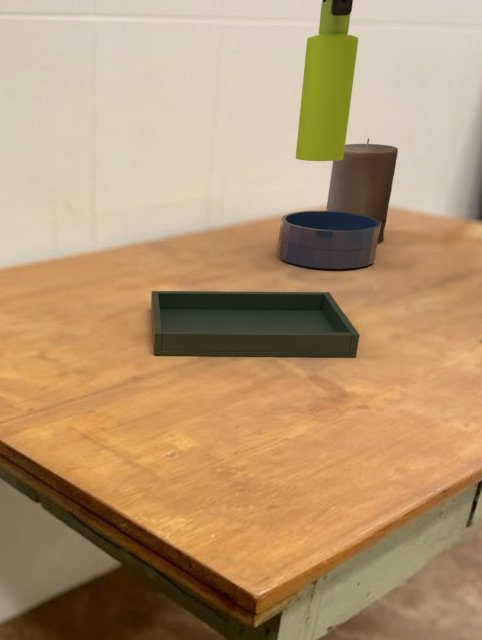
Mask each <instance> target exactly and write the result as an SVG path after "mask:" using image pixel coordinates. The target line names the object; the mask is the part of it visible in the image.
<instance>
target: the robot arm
mask: <svg viewBox="0 0 482 640" xmlns="http://www.w3.org/2000/svg"><path fill="white" fill-rule="evenodd" d="M323 2H326V0H322V2H321V4H322V3H323ZM353 3H354V0H332V3H331V14H332V15H334V16H346V15H349V14H350V15H351V14H352V12H353V11H352V10H353Z"/></svg>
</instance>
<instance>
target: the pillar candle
mask: <svg viewBox="0 0 482 640" xmlns="http://www.w3.org/2000/svg"><path fill="white" fill-rule="evenodd" d="M369 142H370V138H367V141H366V143H349V144H348V143H347V144H345V150H344V158H343V159H342V160H337V161H332V165H331V173H330V180H329V188H328V195H327V202H326V210H325V211H340V212H349V213H357V214H361V215H366V216H370V217H373V218H375V219H377V220H379V221H380V222H381V227H380V233H379V238H378V244H380V243H382V242H383V241H384V237H385V236H384V234H385V228H386V224H387V217H388V211H389V206H390V200H391V195H392V187H393V182H394V177H395V172H396V166H397V159H398V153H399V148H398V147H396V146H393V145H388V144H377V143H369Z"/></svg>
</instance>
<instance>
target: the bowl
mask: <svg viewBox="0 0 482 640" xmlns="http://www.w3.org/2000/svg"><path fill="white" fill-rule="evenodd" d="M380 227H381V222H380V221H379V220H377V219H375V218H373V217H370V216H366V215H361V214H357V213H349V212H340V211H326V210H303V211H295V212H290V213H287V214H284V215H282V217H281V218H280V224H279V235H278V243H277V250H276V251H277V252H276V255H277V256H278V258H279V259H280V260H282V261H284V262H287V263H290V264H293V265H296V266H301V267H304V268H311V269H318V270H319V269H320V270H348V269H349V270H350V269H359V268H362V267H368V266H369V265H372V264H374V263H375V260H376V256H377V249H378V244H379V243H378V238H379V233H380Z"/></svg>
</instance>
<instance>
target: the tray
mask: <svg viewBox="0 0 482 640" xmlns="http://www.w3.org/2000/svg"><path fill="white" fill-rule="evenodd" d="M150 292H151V295H150V296H151V297H150V298H151V299H150V316H151V317H150V318H151V331H152V345H153V355H154V356H157V357H158V356H161V357H162V356H165V357H166V356H167V357H168V356H173V357H179V356H180V357H268V358H269V357H270V358H271V357H272V358H274V357H276V358H277V357H278V358H284V357H285V358H357V353H358V348H359V342H360V334H359V332H358V330H357V329H356V328H355V326H354V325H353V323H352V322H351V321H350V320H349V318H348V317H347V315H346V314H345V313H344V311H343V309H342V308H341V307H340V306H339V304H338V303H337V301H336V299H334V297H333V295H332V294H331V292H328V291H323V292H322V291H227V290H226V291H218V290H216V291H215V290H214V291H211V290H210V291H208V290H207V291H205V290H204V291H203V290H191V291H190V290H151V291H150Z"/></svg>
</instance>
